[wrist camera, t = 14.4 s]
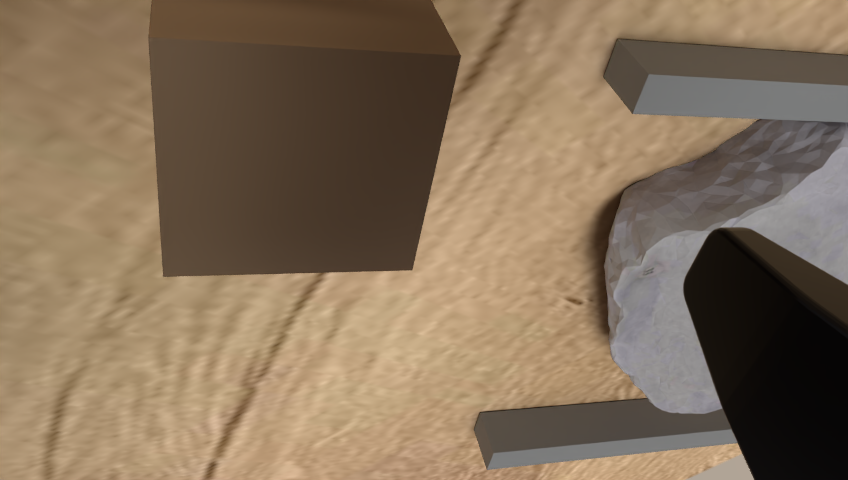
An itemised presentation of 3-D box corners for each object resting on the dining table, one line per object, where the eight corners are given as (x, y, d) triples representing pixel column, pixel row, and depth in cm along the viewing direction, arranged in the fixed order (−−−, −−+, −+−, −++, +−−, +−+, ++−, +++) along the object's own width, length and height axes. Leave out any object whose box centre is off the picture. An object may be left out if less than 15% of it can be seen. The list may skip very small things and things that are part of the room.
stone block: (620, 346, 35) (851, 285, 32) (644, 440, 31) (905, 379, 28) (542, 165, 27) (839, 63, 24) (564, 263, 23) (912, 157, 21)
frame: (474, 429, 33) (486, 469, 31) (617, 38, 21) (648, 74, 20) (771, 402, 37) (795, 436, 36) (1026, 68, 25) (1076, 99, 24)
